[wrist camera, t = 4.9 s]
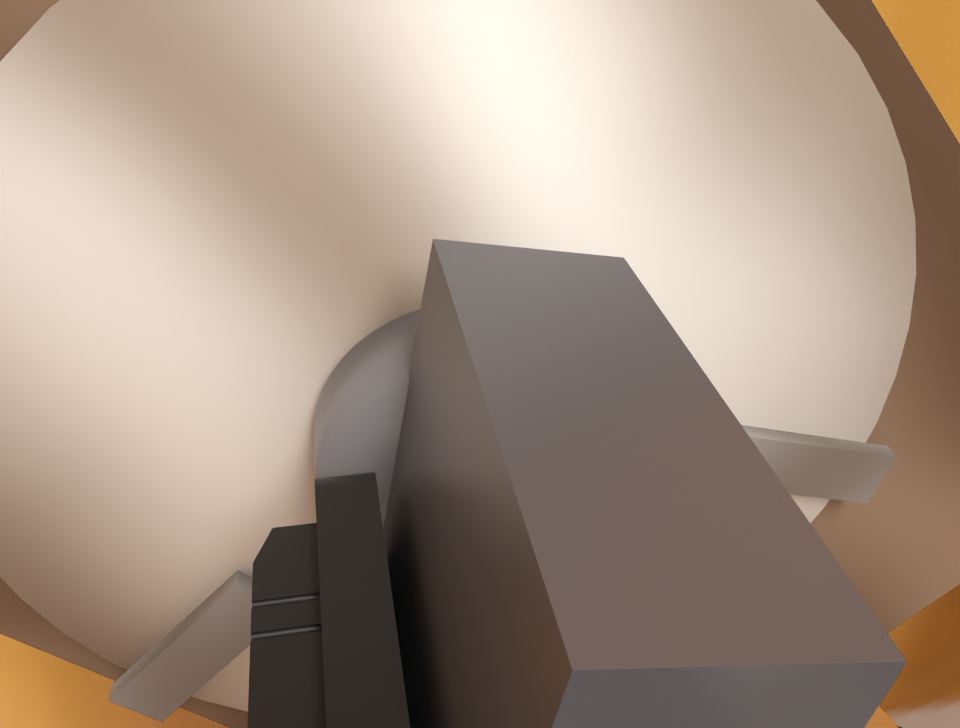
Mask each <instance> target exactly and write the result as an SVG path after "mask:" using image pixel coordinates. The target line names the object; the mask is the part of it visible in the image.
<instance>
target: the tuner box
mask: <svg viewBox="0 0 960 728" xmlns="http://www.w3.org/2000/svg"><path fill="white" fill-rule="evenodd" d="M433 239H441V240H451V241H461V242H471V243H481V244H491V245H501V246H512V247H522V248H532V249H542V250H552V251H562V252H572V253H583V254H593V255H603V256H613V257H623V258H624V259H625V260H626V261H627V263H628V264H629V266H630V267H631V269H632V270H633V271H634V273H635V274H636V276H637V277H638V278H639V280H640V281H641V283H642V284H643V286H644V287H645V288H646V290H647V291H648V293H649V294H650V296H651V297H652V298H653V300H654V301H655V303H656V304H657V306H658V307H659V308H660V310H661V311H662V313H663V314H664V316H665V317H666V318H667V320H668V321H669V323H670V324H671V326H672V327H673V328H674V330H675V331H676V333H677V334H678V336H679V337H680V338H681V340H682V341H683V343H684V344H685V346H686V347H687V348H688V350H689V351H690V353H691V354H692V355H693V357H694V358H695V360H696V361H697V363H698V364H699V365H700V367H701V368H702V370H703V371H704V373H705V374H706V375H707V377H708V378H709V380H710V381H711V383H712V384H713V385H714V387H715V388H716V390H717V391H718V393H719V394H720V395H721V397H722V398H723V400H724V401H725V403H726V404H727V405H728V407H729V408H730V410H731V411H732V413H733V414H734V415H735V417H736V418H737V420H738V421H739V422H740V424H741V425H742V427H743V428H744V430H745V431H746V432H747V434H748V435H749V437H750V438H751V440H752V441H753V442H754V444H755V445H756V447H757V448H758V450H759V451H760V452H761V454H762V455H763V457H764V458H765V460H766V461H767V462H768V464H769V465H770V467H771V468H772V470H773V471H774V472H775V474H776V475H777V477H778V478H779V480H780V481H781V482H782V484H783V485H784V487H785V488H786V490H787V491H788V492H789V494H790V495H791V497H792V498H793V499H794V501H795V502H796V504H797V505H798V507H799V508H800V509H801V511H802V512H803V514H804V515H805V517H806V518H807V519H808V521H809V522H810V524H811V525H812V527H813V528H814V529H815V531H816V532H817V534H818V535H819V537H820V538H821V539H822V541H823V542H824V544H825V545H826V547H827V548H828V549H829V551H830V552H831V554H832V555H833V557H834V558H835V559H836V561H837V562H838V564H839V565H840V567H841V568H842V569H843V571H844V572H845V574H846V575H847V576H848V578H849V579H850V581H851V582H852V584H853V585H854V586H855V588H856V589H857V591H858V592H859V594H860V595H861V596H862V598H863V599H864V601H865V602H866V604H867V605H868V606H869V608H870V609H871V611H872V612H873V614H874V615H875V616H876V618H877V619H878V621H879V622H880V624H881V625H882V626H883V628H884V629H885V631H886V632H887V633H888V632H890V631H891V630H893V629H894V628H896V627H897V626H899V625H900V624H902V623H903V622H905V621H906V620H908V619H909V618H910V617H912V616H913V615H915V614H916V613H918V612H919V611H921V610H922V609H924V608H925V607H927V606H928V605H930V604H931V603H933V602H934V601H936V600H937V599H939V598H940V597H942V596H943V595H944V594H946V593H947V592H949V591H950V590H952V589H953V588H955V587H956V586H958V585H959V584H960V144H959V142H958V141H957V139H956V137H955V136H954V134H953V132H952V131H951V129H950V128H949V126H948V124H947V123H946V121H945V119H944V118H943V116H942V115H941V113H940V111H939V110H938V108H937V106H936V105H935V103H934V102H933V100H932V98H931V97H930V95H929V93H928V92H927V90H926V89H925V87H924V85H923V84H922V82H921V80H920V79H919V77H918V76H917V74H916V72H915V71H914V69H913V67H912V66H911V64H910V63H909V61H908V59H907V58H906V56H905V54H904V53H903V51H902V50H901V48H900V46H899V45H898V43H897V41H896V40H895V38H894V37H893V35H892V33H891V32H890V30H889V28H888V27H887V25H886V24H885V22H884V20H883V19H882V17H881V15H880V14H879V12H878V11H877V9H876V7H875V6H874V4H873V2H872V1H871V0H0V634H3V635H5V636H8V637H10V638H12V639H15V640H17V641H20V642H22V643H25V644H27V645H30V646H32V647H34V648H37V649H39V650H42V651H44V652H47V653H49V654H52V655H54V656H56V657H59V658H61V659H64V660H66V661H69V662H71V663H74V664H76V665H78V666H81V667H83V668H86V669H88V670H91V671H93V672H96V673H98V674H100V675H103V676H105V677H108V678H110V679H113V680H115V682H114V683H113V684H112V685H111V690H110V695H109V701H111V702H113V703H116V704H118V705H121V706H123V707H126V708H128V709H131V710H133V711H136V712H138V713H141V714H143V715H146V716H149V717H151V718H154V719H156V720H159V721H161V722H162V721H163V720H164V719H166V718H167V717H168V716H169V715H170V714H171V713H173V712H174V711H175V710H176V709H177V708H178V707H181V708H183V709H186V710H188V711H191V712H193V713H196V714H198V715H200V716H203V717H205V718H208V719H210V720H213V721H215V722H218V723H220V724H222V725H225V726H227V727H230V728H247V724H248V695H249V665H250V641H251V609H252V575H253V562H254V560H255V558H256V556H257V555H258V553H259V551H260V549H261V548H262V546H263V544H264V542H265V540H266V539H267V537H268V535H269V533H270V531H271V530H272V528H276V527H284V526H293V525H301V524H310V523H316V504H315V462H314V442H313V426H314V416H315V411H316V406H317V402H318V400H319V397H320V394H321V391H322V389H323V387H324V385H325V383H326V381H327V380H328V378H329V376H330V374H331V373H332V371H333V370H334V369H335V367H336V366H337V365H338V363H339V362H340V361H341V359H342V358H343V357H344V356H345V355H346V354H347V353H348V352H349V351H350V350H351V349H352V348H353V347H354V346H355V345H356V344H357V343H359V342H360V341H361V340H362V339H364V338H365V337H366V336H367V335H369V334H370V333H371V332H373V331H375V330H376V329H378V328H380V327H381V326H383V325H384V324H386V323H388V322H390V321H392V320H394V319H397V318H399V317H401V316H403V315H405V314H408V313H411V312H414V311H417V310H420V308H421V303H422V297H423V291H424V286H425V280H426V274H427V269H428V263H429V257H430V252H431V246H432V241H433Z"/></svg>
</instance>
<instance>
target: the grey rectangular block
mask: <svg viewBox="0 0 960 728" xmlns="http://www.w3.org/2000/svg"><path fill="white" fill-rule="evenodd" d="M313 442H314V462H315V478H324V477H334V476H343V475H352V474H361V473H370V472H375V474H376V480H377V487H378V495H379V502H380V509H381V517H382V524H383V531H384V539H385V546H386V553H387V561H388V568H389V575H390V583H391V590H392V597H393V605H394V612H395V619H396V627H397V634H398V641H399V649H400V656H401V663H402V671H403V678H404V685H405V693H406V700H407V707H408V715H409V722H410V728H865V726H866V725H867V723H868V722H869V720H870V718H871V717H872V715H873V714H874V712H875V711H876V709H877V708H878V706H879V704H880V703H881V701H882V700H883V698H884V697H885V695H886V694H887V692H888V691H889V689H890V687H891V686H892V684H893V683H894V681H895V680H896V678H897V677H898V675H899V673H900V672H901V670H902V669H903V667H904V666H905V664H906V663H907V661H906V659H905V658H904V656H903V655H902V653H901V652H900V651H899V649H898V648H897V646H896V645H895V643H894V642H893V641H892V639H891V638H890V636H889V635H888V634H887V632H886V631H885V629H884V628H883V626H882V625H881V624H880V622H879V621H878V619H877V618H876V616H875V615H874V614H873V612H872V611H871V609H870V608H869V606H868V605H867V604H866V602H865V601H864V599H863V598H862V596H861V595H860V594H859V592H858V591H857V589H856V588H855V586H854V585H853V584H852V582H851V581H850V579H849V578H848V576H847V575H846V574H845V572H844V571H843V569H842V568H841V567H840V565H839V564H838V562H837V561H836V559H835V558H834V557H833V555H832V554H831V552H830V551H829V549H828V548H827V547H826V545H825V544H824V542H823V541H822V539H821V538H820V537H819V535H818V534H817V532H816V531H815V529H814V528H813V527H812V525H811V524H810V522H809V521H808V519H807V518H806V517H805V515H804V514H803V512H802V511H801V509H800V508H799V507H798V505H797V504H796V502H795V501H794V499H793V498H792V497H791V495H790V494H789V492H788V491H787V490H786V488H785V487H784V485H783V484H782V482H781V481H780V480H779V478H778V477H777V475H776V474H775V472H774V471H773V470H772V468H771V467H770V465H769V464H768V462H767V461H766V460H765V458H764V457H763V455H762V454H761V452H760V451H759V450H758V448H757V447H756V445H755V444H754V442H753V441H752V440H751V438H750V437H749V435H748V434H747V432H746V431H745V430H744V428H743V427H742V425H741V424H740V422H739V421H738V420H737V418H736V417H735V415H734V414H733V413H732V411H731V410H730V408H729V407H728V405H727V404H726V403H725V401H724V400H723V398H722V397H721V395H720V394H719V393H718V391H717V390H716V388H715V387H714V385H713V384H712V383H711V381H710V380H709V378H708V377H707V375H706V374H705V373H704V371H703V370H702V368H701V367H700V365H699V364H698V363H697V361H696V360H695V358H694V357H693V355H692V354H691V353H690V351H689V350H688V348H687V347H686V346H685V344H684V343H683V341H682V340H681V338H680V337H679V336H678V334H677V333H676V331H675V330H674V328H673V327H672V326H671V324H670V323H669V321H668V320H667V318H666V317H665V316H664V314H663V313H662V311H661V310H660V308H659V307H658V306H657V304H656V303H655V301H654V300H653V298H652V297H651V296H650V294H649V293H648V291H647V290H646V288H645V287H644V286H643V284H642V283H641V281H640V280H639V278H638V277H637V276H636V274H635V273H634V271H633V270H632V269H631V267H630V266H629V264H628V263H627V261H626V260H625V259H624V258H623V257H613V256H603V255H593V254H583V253H572V252H562V251H552V250H542V249H532V248H522V247H512V246H501V245H491V244H481V243H471V242H461V241H451V240H441V239H433V241H432V246H431V252H430V257H429V263H428V269H427V274H426V280H425V286H424V291H423V297H422V303H421V308H420V310H417V311H414V312H411V313H408V314H405V315H403V316H401V317H399V318H397V319H394V320H392V321H390V322H388V323H386V324H384V325H383V326H381V327H380V328H378V329H376V330H375V331H373V332H371V333H370V334H369V335H367V336H366V337H365V338H364V339H362V340H361V341H360V342H359V343H357V344H356V345H355V346H354V347H353V348H352V349H351V350H350V351H349V352H348V353H347V354H346V355H345V356H344V357H343V358H342V359H341V361H340V362H339V363H338V365H337V366H336V367H335V369H334V370H333V371H332V373H331V374H330V376H329V378H328V380H327V381H326V383H325V385H324V387H323V389H322V391H321V394H320V397H319V400H318V402H317V406H316V411H315V416H314V426H313Z"/></svg>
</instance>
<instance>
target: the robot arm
mask: <svg viewBox="0 0 960 728" xmlns="http://www.w3.org/2000/svg"><path fill="white" fill-rule="evenodd" d="M315 504H316V523H310V524H301V525H293V526H284V527H276V528H272V530H271V531H270V533H269V535H268V537H267V539H266V540H265V542H264V544H263V546H262V548H261V549H260V551H259V553H258V555H257V556H256V558H255V560H254V562H253V575H252V609H251V641H250V665H249V695H248V724H247V728H410V722H409V715H408V707H407V700H406V693H405V685H404V678H403V671H402V663H401V656H400V649H399V641H398V634H397V627H396V619H395V612H394V605H393V597H392V590H391V583H390V575H389V568H388V561H387V553H386V546H385V539H384V531H383V524H382V517H381V509H380V502H379V495H378V487H377V480H376V474H375V472H370V473H361V474H352V475H343V476H334V477H324V478H315ZM865 728H902V727H899V726H897V725H896V724H895V723H894V721H893V720H892V719H891V718H890V717H889V716H888V715H887V714H886V713H885V712H884V711H883V710H882V709H881V708H880V707H879V706H878V708H877V709H876V711H875V712H874V714H873V715H872V717H871V718H870V720H869V722H868V723H867V725H866V726H865Z"/></svg>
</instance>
